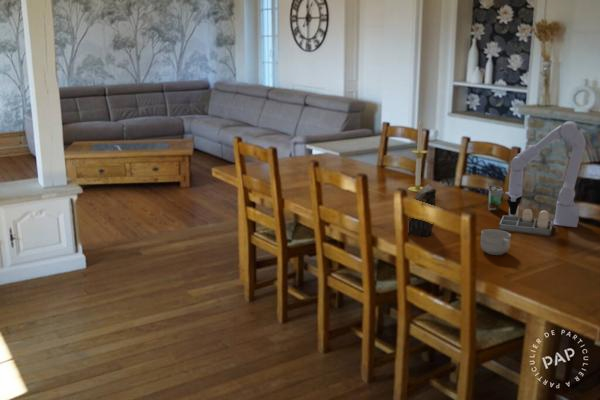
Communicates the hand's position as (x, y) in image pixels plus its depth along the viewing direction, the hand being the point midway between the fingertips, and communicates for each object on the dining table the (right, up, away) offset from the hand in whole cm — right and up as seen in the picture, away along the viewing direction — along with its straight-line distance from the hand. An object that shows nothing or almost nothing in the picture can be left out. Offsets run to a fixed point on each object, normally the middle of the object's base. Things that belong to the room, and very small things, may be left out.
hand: (513, 213), depth 283 cm
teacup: (-21, -15, -43) cm, 50 cm away
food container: (-4, +1, +14) cm, 14 cm away
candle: (-34, +11, +49) cm, 60 cm away
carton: (0, -6, -14) cm, 15 cm away
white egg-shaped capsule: (0, -2, +1) cm, 2 cm away
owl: (-46, -8, -18) cm, 50 cm away
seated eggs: (+3, -6, -15) cm, 17 cm away
